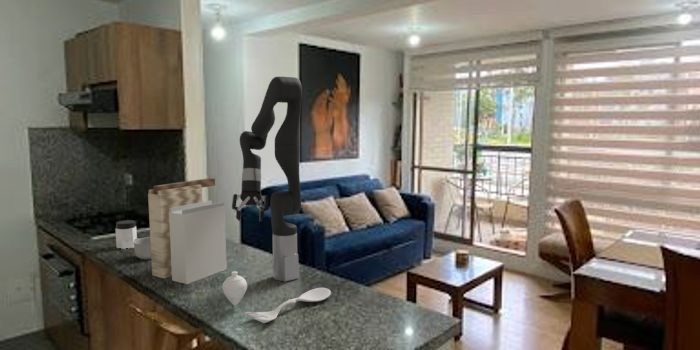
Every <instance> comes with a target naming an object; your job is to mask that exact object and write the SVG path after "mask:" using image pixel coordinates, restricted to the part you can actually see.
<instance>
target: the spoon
mask: <svg viewBox="0 0 700 350" xmlns="http://www.w3.org/2000/svg"><path fill="white" fill-rule="evenodd" d="M331 294H332V292H331V290H330V289H329V288H326V287H316V288H313V289H310V290H308V291H305V292H304V293H302V294H300V295H299V296H298V297H296V298H295V297H294V298H292V299H291V298H289V299H287V300H286V301H285V302H283V303H280V304H279V306H277V307H276V308H275V309H273V310H271V311H270V310H269V311H259V312H258V311H257V312H252V311H245V312H244V314H243V315H244V316H247V317H249V318H251V319H254V320H255V321H258V322H261V323H262V324H265V323H269V322H271V321H274V320H276V319H277V317H278V314H279V313H280V311H281V310H282V309H283V308H284V307H287V306H288V305H292V304H293V305H294V304H296V303H297V302H304V303H305V302H306V303H317V302H322V301H323V300H327V298H329V297H330V296H331Z"/></svg>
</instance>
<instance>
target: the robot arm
mask: <svg viewBox="0 0 700 350" xmlns="http://www.w3.org/2000/svg"><path fill="white" fill-rule="evenodd" d="M302 97H303V86H302V83H301V80H300V79H299V78H298V77H295V76H294V77H291V76H274V77H273V78H272V79H271V80H270V82H269V84H268V87H267V89H266V91H265V95H264V98H263V100H262V104H261V107H260V110H259V112H258V114H257V116H256V118H255V119H254V121H253V123H252V124H251V131H248V130H244V131H242V133H241V134H240V136H239V145H240V148H241V149H240V150H241V154H242V161H243V163H242V173H241V174H242V175H241V191H240V192H241V193H240V194H237V193H234V194H233V195H232V201H231V202H232V203H231V209H232V210H235V213H236V215H235V218H236V220H237V222H238V221H239V222H240V221H241V214H242V211H241V210H242V208H243V207H244V206H247V207H248V206H251V207H255V206H256V208H257V209H258V210H259V216H258V217H259V218H258V221H259V222H263V220H264V217H265V215H264V213H265V212H266V211H269V208H270V220H271V230H272V232H271V233H272V273H273V274H272V277H273V279H274V280H276V281H278V282H281V281H282V282H284V283H285V282H290V281H293V280H297V279H300V278H299V273H300V272H299V271H300V268H299V253H298V226H297V225H296V224H294V223H291V222H287V221H285V220H284V218H285V216H293V215H297V214H299V213H300V212H301V208H302V194H301V183H300V182H301V180H300V152H301V151H300V149H301V148H300V147H301V146H300V142H301V140H300V129H301V128H300V125H301V123H300V121H301V111H302V110H301V109H302V99H303V98H302ZM278 103H282V104H283V103H286V104H287V105H286V106H287V107H286V115H285V117H284V119H283V122H282V123H281V125H280V127H279V129H278V130H277V132H276V134H275V136H274V157H275V160H276V162H277V164H278V166H279V167H280V169H281V170H282V172H283V174H284V175H285V177H286V180H287V184H288V190H283V191H275V192H272V194H271V195H270V198H269V195H262V194H261V193H262V192H261V189H262V187H261V185H262V170H261V169H262V158H261V156H260V155H258V154H255V153H254V152H253V151H252V150H254V151H255V150H256V151H260V150H263V149H264V148H265V147H266V145H267V139H268V135H269V132H270V131H271V130H272V129H273V126H274V125H275V121H276V116H275V109H274V107H276V105H277V104H278ZM239 199H240V200H241V203H240V204H239V205H238V206H237V201H238V200H239ZM269 199H270V201H269ZM261 200H262V202H264V203H263V205H264V207H263V205H262V204H261V202H260V201H261Z"/></svg>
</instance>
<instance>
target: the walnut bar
mask: <svg viewBox="0 0 700 350" xmlns="http://www.w3.org/2000/svg"><path fill="white" fill-rule="evenodd" d="M194 185H201V188H202V189H203V188H207V187H208V188H209V187H214V186H216V178H213V177H209V178H202V179H195V180H186V181H179V182H173V183H165V184H159V185H153V186H152V187H153V189H154V194H158V191H161V190H168V189H174V188H181V187H187V186H194Z"/></svg>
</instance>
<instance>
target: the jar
mask: <svg viewBox="0 0 700 350" xmlns="http://www.w3.org/2000/svg"><path fill="white" fill-rule="evenodd" d="M115 224H116V225H115V241H116V243H115V244H116V248H117V249H119V248H121V250H127V249H126V248H128V249H134V244H133V242H134V240H135V239H137V238H138V236H137V235H138V234H137V233H138V232H137V231H138V230H137V225H136V221H135V220H132V219H131V220H130V219H125V220H119V221H116V223H115Z"/></svg>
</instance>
